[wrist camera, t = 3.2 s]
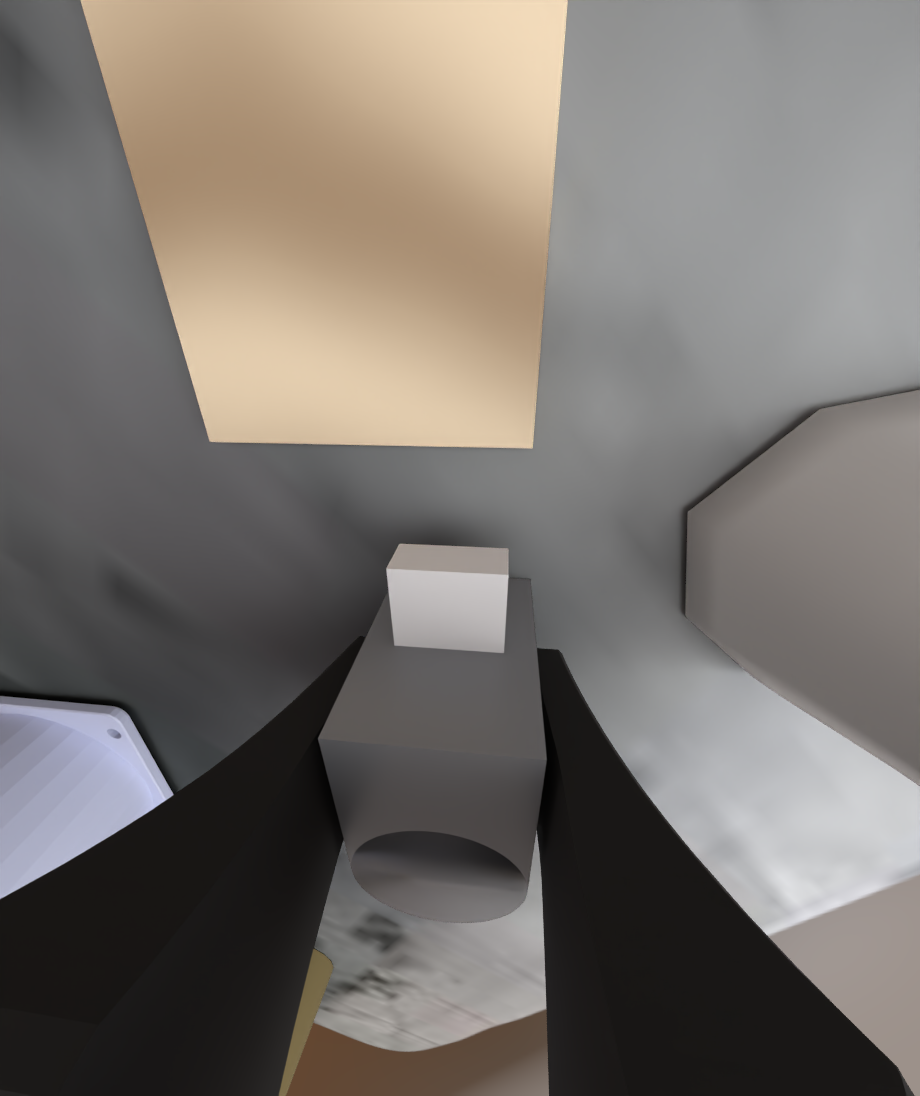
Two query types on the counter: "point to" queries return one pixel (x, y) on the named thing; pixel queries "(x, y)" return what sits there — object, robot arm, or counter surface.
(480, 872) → the plug
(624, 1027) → the robot arm
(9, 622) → the counter surface
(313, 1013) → the pepper shaker
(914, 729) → the flask
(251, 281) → the coaster
